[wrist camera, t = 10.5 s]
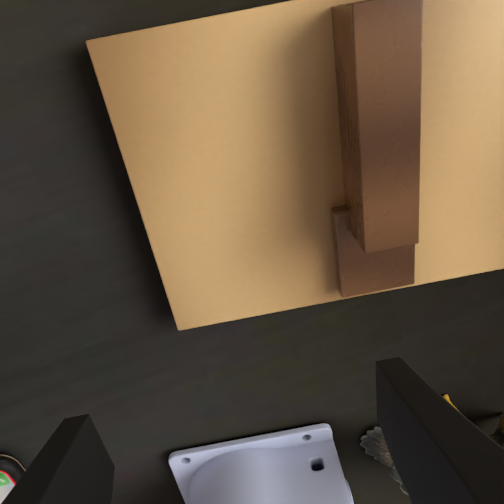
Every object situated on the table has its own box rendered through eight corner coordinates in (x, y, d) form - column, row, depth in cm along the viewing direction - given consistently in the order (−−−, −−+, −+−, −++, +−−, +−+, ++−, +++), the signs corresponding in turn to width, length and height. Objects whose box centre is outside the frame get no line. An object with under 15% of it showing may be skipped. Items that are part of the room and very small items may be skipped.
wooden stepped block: (312, 10, 14) (330, 7, 12) (409, -10, 14) (445, -15, 12) (337, 289, 19) (353, 322, 17) (408, 275, 19) (433, 307, 17)
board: (608, -61, 15) (638, -68, 14) (551, 244, 20) (569, 256, 19) (93, 39, 15) (84, 40, 14) (179, 315, 21) (177, 331, 19)
